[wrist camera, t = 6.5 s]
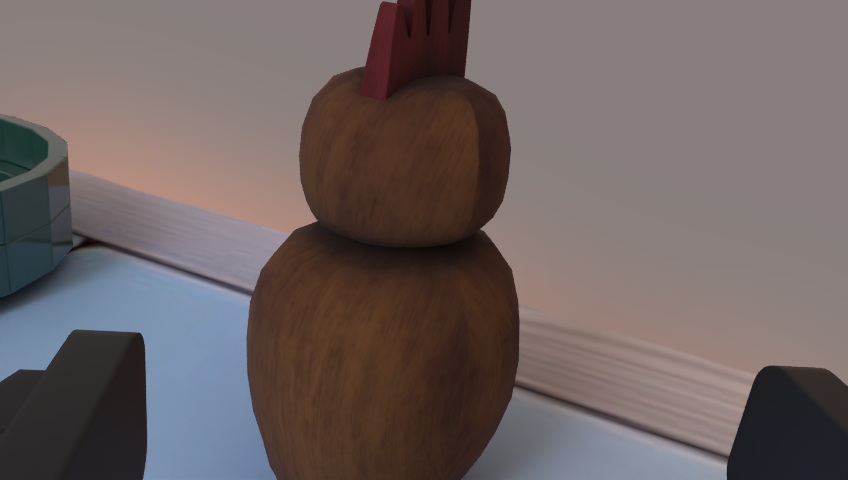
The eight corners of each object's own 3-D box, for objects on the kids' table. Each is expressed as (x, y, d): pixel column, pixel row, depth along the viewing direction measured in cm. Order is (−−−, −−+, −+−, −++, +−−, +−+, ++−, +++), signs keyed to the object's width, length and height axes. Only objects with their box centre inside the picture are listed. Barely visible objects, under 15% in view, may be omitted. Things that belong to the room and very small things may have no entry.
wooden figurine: (397, 394, 25) (458, -99, 19) (527, 494, 21) (651, -87, 15) (206, 467, 20) (215, -144, 15) (326, 611, 16) (398, -143, 11)
